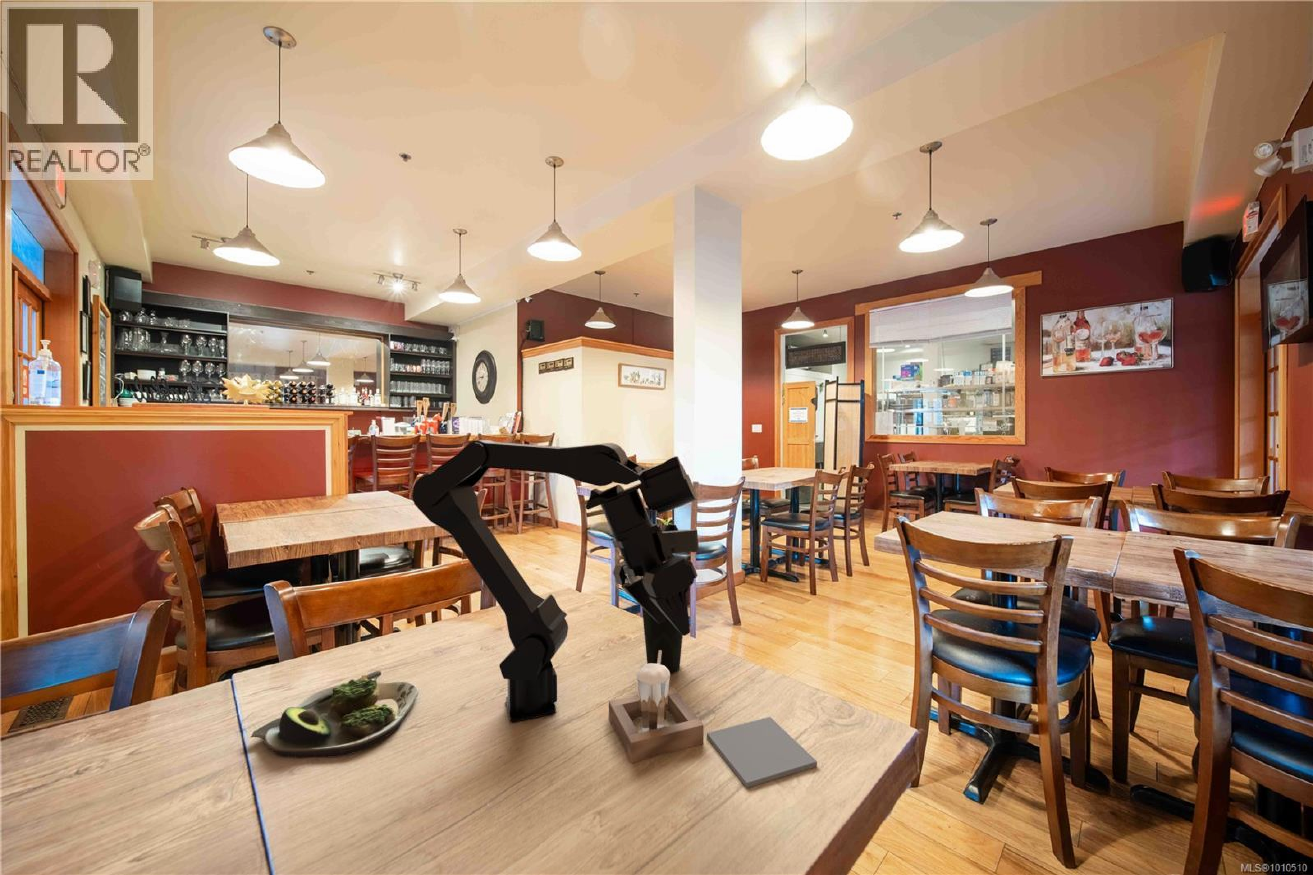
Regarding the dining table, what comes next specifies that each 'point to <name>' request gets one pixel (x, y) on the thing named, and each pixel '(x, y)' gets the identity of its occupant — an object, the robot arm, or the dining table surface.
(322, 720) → the salad plate
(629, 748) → the collar
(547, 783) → the dining table surface
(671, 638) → the cup
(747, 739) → the mat
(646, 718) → the milkshake
